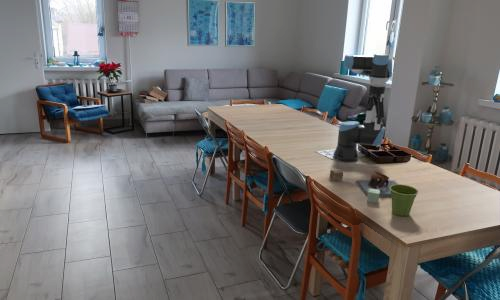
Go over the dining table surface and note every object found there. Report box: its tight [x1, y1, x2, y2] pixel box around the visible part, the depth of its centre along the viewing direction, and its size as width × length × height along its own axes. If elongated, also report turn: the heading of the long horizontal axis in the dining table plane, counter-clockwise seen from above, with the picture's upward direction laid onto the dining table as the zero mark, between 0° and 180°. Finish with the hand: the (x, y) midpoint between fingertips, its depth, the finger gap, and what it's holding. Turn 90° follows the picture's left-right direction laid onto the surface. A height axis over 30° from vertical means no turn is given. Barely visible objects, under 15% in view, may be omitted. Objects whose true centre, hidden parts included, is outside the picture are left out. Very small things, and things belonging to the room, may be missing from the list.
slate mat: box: [356, 179, 398, 198], centre depth 204 cm, size 18×20×2 cm
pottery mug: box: [368, 171, 390, 189], centre depth 202 cm, size 12×10×8 cm
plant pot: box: [390, 183, 420, 217], centre depth 176 cm, size 12×12×11 cm
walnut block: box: [329, 168, 344, 182], centre depth 215 cm, size 5×5×5 cm
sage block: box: [366, 188, 380, 204], centre depth 189 cm, size 5×5×5 cm
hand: (372, 126), depth 210 cm, fingers open, 13 cm apart
